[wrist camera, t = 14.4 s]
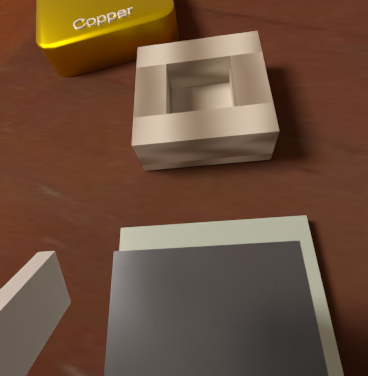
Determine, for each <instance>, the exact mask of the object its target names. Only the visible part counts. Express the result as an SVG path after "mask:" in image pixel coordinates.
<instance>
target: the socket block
mask: <svg viewBox="0 0 368 376" xmlns="http://www.w3.org/2000/svg"><path fill="white" fill-rule="evenodd" d="M278 134H279V126H278V122H277V117H276V113H275V108H274V104H273V99H272V95H271V90H270V86H269V81H268V76H267V72H266V67H265V63H264V58H263V54H262V49H261V45H260V40H259V36H258V31H253V32H245V33H238V34H231V35H223V36H216V37H209V38H201V39H194V40H187V41H179V42H172V43H165V44H157V45H150V46H143V47H138V50H137V66H136V83H135V99H134V115H133V132H132V147H133V149H134V151H135V153H136V155H137V157H138V159H139V160H140V162H141V164H142V166H143V168H144V170H145V171H147V170H159V169H170V168H181V167H192V166H203V165H215V164H226V163H237V162H248V161H259V160H270V159H271V157H272V154H273V150H274V147H275V144H276V141H277V138H278Z"/></svg>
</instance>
